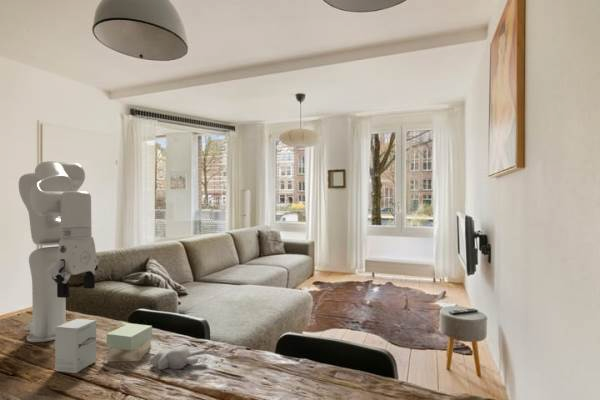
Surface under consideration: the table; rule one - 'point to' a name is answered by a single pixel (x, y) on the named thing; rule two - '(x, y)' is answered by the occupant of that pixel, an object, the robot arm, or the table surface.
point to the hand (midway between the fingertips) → (76, 292)
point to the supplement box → (75, 345)
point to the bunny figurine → (175, 357)
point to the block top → (129, 336)
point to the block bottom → (129, 353)
